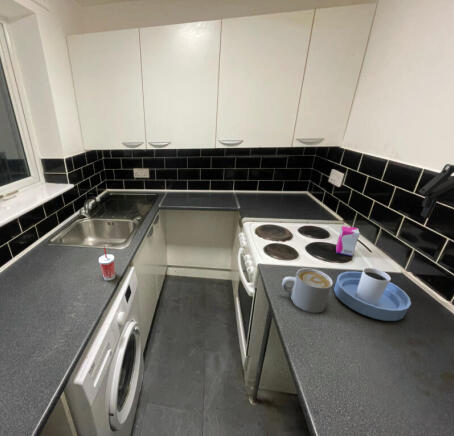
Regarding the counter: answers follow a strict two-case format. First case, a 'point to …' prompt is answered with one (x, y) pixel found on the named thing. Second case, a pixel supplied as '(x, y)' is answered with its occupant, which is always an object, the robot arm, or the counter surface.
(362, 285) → the white cup
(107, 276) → the beverage cup
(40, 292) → the counter surface
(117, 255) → the counter surface
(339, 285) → the bowl
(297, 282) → the coffee mug
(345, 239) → the supplement box
